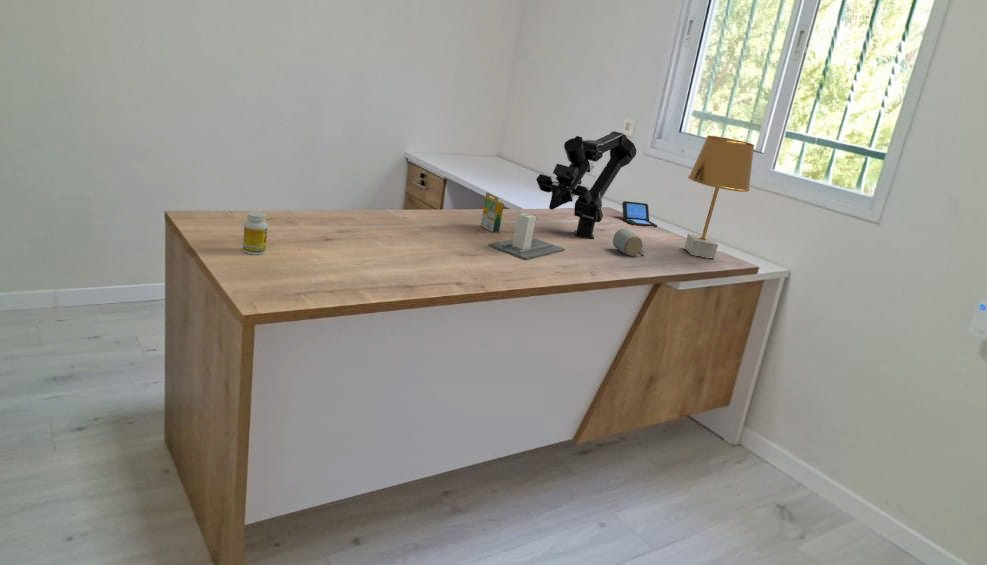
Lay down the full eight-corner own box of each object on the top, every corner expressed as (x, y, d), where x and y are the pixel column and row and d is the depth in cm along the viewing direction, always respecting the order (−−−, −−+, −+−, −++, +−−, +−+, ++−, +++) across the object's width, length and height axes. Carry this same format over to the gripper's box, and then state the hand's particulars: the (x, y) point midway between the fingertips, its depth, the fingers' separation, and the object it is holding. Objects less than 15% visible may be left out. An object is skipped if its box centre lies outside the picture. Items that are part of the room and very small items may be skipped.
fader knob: (519, 244, 214) (525, 212, 211) (530, 247, 212) (536, 216, 209) (512, 245, 211) (518, 213, 208) (522, 249, 209) (529, 217, 205)
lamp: (736, 267, 237) (771, 150, 224) (677, 257, 237) (709, 138, 224) (718, 250, 257) (750, 141, 244) (663, 241, 256) (692, 131, 243)
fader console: (528, 237, 227) (529, 234, 226) (564, 250, 220) (565, 246, 219) (488, 245, 209) (489, 242, 209) (525, 260, 202) (526, 256, 202)
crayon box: (499, 232, 227) (505, 198, 223) (492, 232, 225) (498, 197, 222) (487, 225, 233) (493, 192, 229) (480, 225, 231) (485, 191, 227)
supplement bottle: (241, 247, 170) (243, 210, 167) (263, 248, 172) (266, 211, 169) (243, 255, 165) (246, 216, 162) (267, 255, 168) (269, 217, 165)
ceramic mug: (622, 256, 225) (628, 234, 223) (610, 248, 232) (615, 226, 230) (649, 258, 229) (655, 236, 227) (636, 250, 236) (642, 229, 234)
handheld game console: (631, 226, 272) (636, 207, 270) (617, 218, 282) (621, 200, 279) (658, 228, 277) (662, 210, 275) (643, 220, 287) (647, 203, 284)
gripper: (545, 148, 222) (519, 184, 216) (595, 162, 212) (569, 200, 207) (553, 172, 230) (528, 206, 225) (601, 186, 221) (577, 222, 215)
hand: (550, 208), depth 218 cm, fingers closed
